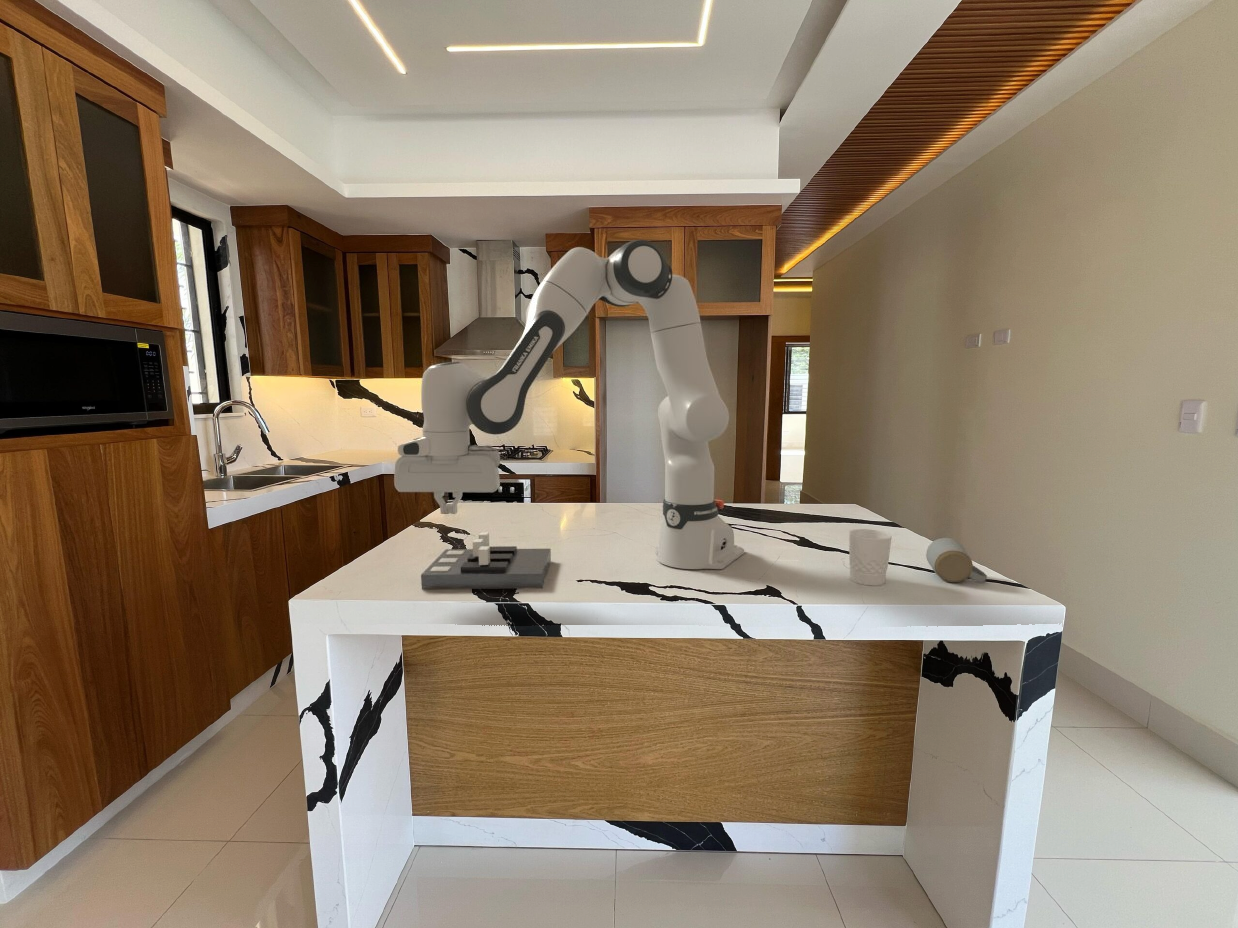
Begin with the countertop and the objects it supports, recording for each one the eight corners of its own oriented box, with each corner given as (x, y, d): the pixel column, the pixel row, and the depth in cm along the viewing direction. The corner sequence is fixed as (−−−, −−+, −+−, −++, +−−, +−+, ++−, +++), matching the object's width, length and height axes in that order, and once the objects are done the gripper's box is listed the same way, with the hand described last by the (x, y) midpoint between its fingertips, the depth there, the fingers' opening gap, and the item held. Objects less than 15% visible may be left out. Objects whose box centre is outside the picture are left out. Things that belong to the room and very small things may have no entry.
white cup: (877, 590, 109) (881, 541, 108) (839, 579, 115) (842, 533, 114) (894, 580, 115) (898, 534, 113) (857, 571, 120) (860, 526, 119)
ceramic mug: (932, 582, 114) (936, 546, 113) (924, 569, 121) (927, 535, 120) (992, 588, 111) (996, 551, 109) (979, 575, 118) (983, 540, 117)
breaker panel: (550, 561, 127) (550, 544, 127) (542, 587, 111) (541, 568, 110) (446, 561, 127) (445, 545, 126) (421, 589, 110) (420, 569, 110)
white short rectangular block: (489, 545, 125) (488, 532, 124) (487, 548, 123) (486, 534, 122) (481, 545, 125) (480, 532, 124) (479, 548, 122) (478, 534, 122)
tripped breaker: (490, 561, 114) (489, 546, 113) (487, 564, 112) (487, 549, 111) (481, 561, 114) (480, 546, 113) (479, 564, 112) (478, 549, 111)
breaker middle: (483, 553, 119) (483, 538, 119) (481, 556, 117) (481, 541, 117) (475, 553, 119) (475, 538, 119) (473, 556, 117) (472, 541, 117)
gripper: (502, 443, 112) (503, 510, 114) (401, 443, 112) (404, 509, 114) (496, 447, 106) (497, 517, 108) (389, 446, 106) (392, 516, 108)
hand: (449, 513), depth 111 cm, fingers closed
